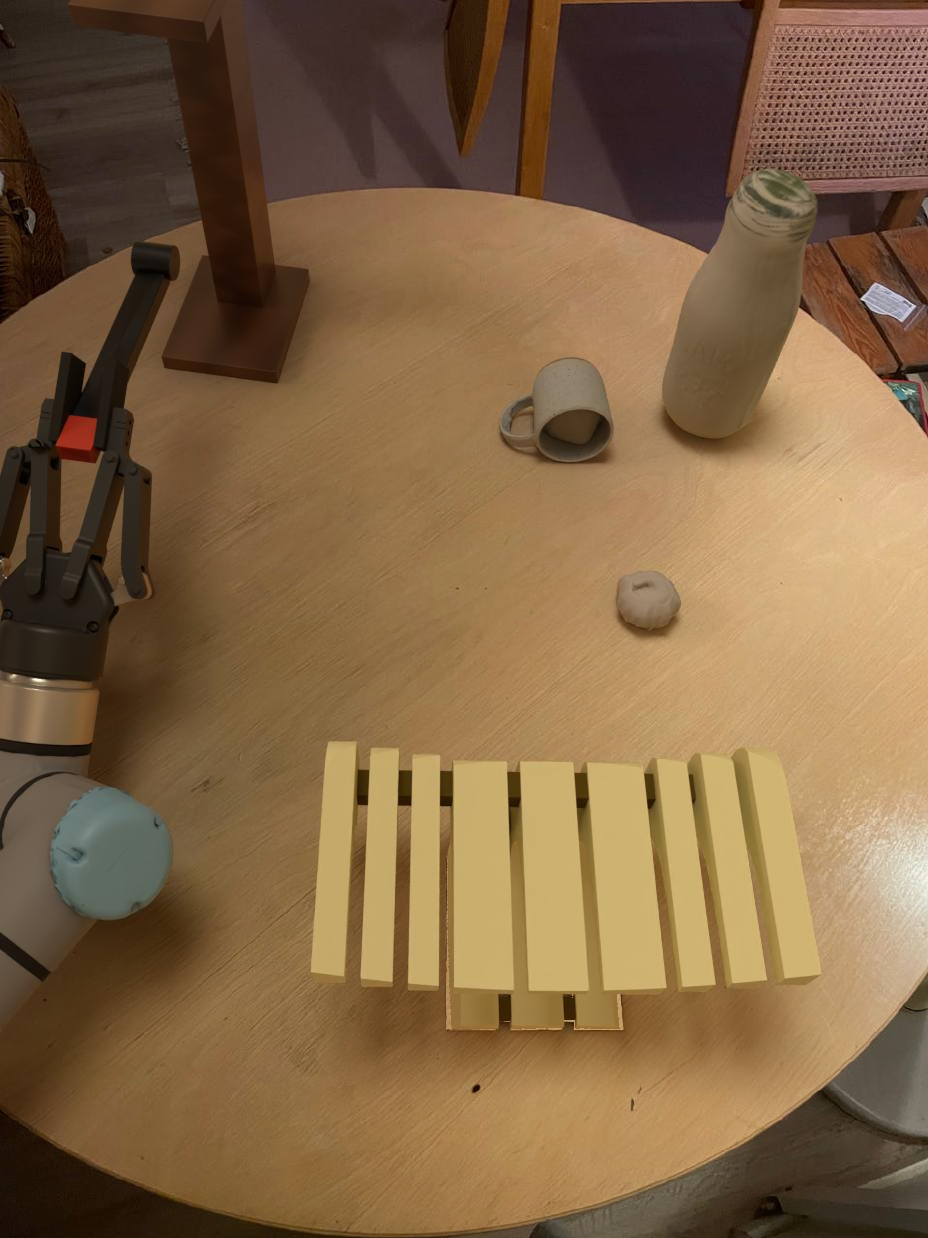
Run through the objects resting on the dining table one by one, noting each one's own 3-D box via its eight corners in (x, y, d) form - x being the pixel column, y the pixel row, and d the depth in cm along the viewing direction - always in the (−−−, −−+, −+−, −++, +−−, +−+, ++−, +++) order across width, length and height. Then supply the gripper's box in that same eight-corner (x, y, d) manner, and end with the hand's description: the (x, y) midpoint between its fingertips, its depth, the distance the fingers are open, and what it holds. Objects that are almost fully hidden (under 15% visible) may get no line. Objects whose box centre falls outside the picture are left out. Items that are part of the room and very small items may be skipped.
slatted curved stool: (709, 824, 85) (776, 729, 70) (738, 1031, 76) (821, 974, 61) (340, 819, 83) (327, 722, 68) (328, 1030, 75) (310, 972, 60)
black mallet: (56, 458, 76) (45, 432, 73) (145, 260, 87) (138, 232, 85) (99, 464, 75) (89, 438, 73) (183, 265, 87) (176, 237, 85)
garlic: (601, 624, 94) (611, 593, 90) (619, 579, 97) (630, 547, 92) (664, 648, 93) (678, 617, 89) (681, 601, 96) (694, 570, 92)
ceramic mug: (596, 402, 108) (607, 347, 102) (607, 462, 104) (619, 409, 98) (495, 404, 108) (500, 349, 101) (502, 465, 104) (508, 412, 97)
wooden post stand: (158, 381, 107) (53, 2, 75) (204, 266, 116) (129, -116, 84) (273, 397, 107) (217, 23, 74) (309, 280, 116) (275, -97, 84)
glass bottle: (761, 408, 109) (863, 172, 86) (723, 471, 105) (819, 239, 81) (677, 370, 112) (753, 129, 88) (635, 429, 107) (703, 192, 83)
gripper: (-33, 662, 79) (15, 360, 80) (169, 691, 79) (214, 387, 80) (-87, 663, 72) (-34, 330, 73) (135, 694, 71) (186, 359, 72)
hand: (96, 361), depth 76 cm, fingers closed on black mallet, 3 cm apart
